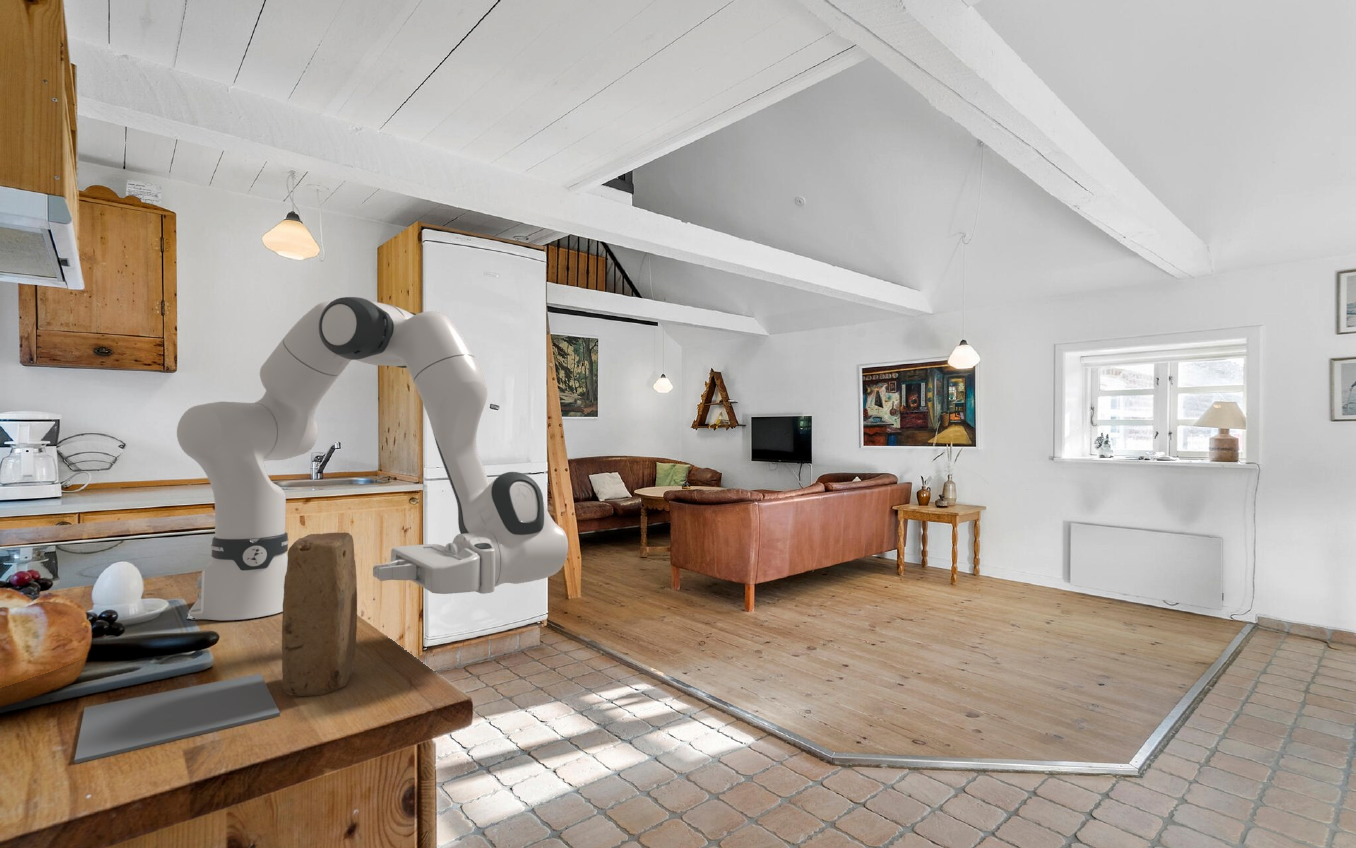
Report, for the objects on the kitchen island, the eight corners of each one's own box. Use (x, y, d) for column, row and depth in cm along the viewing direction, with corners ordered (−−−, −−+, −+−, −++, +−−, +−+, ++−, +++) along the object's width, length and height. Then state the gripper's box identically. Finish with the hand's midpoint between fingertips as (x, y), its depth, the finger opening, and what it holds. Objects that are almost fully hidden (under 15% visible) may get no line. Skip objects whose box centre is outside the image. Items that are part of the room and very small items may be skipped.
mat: (84, 710, 78) (84, 707, 78) (260, 676, 90) (260, 673, 90) (74, 764, 66) (74, 760, 66) (279, 716, 77) (279, 712, 77)
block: (339, 697, 83) (342, 541, 83) (274, 702, 81) (277, 542, 82) (362, 667, 94) (364, 528, 94) (305, 671, 92) (307, 529, 92)
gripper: (446, 532, 109) (357, 540, 100) (498, 551, 93) (397, 562, 84) (446, 570, 109) (356, 581, 100) (497, 595, 93) (397, 611, 84)
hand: (375, 573), depth 92 cm, fingers closed
